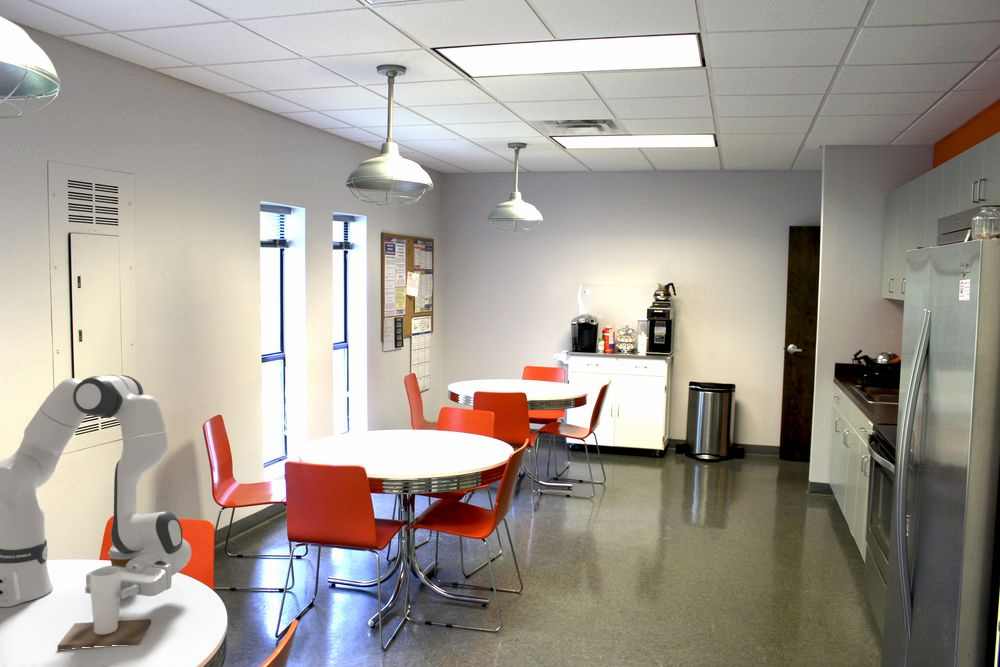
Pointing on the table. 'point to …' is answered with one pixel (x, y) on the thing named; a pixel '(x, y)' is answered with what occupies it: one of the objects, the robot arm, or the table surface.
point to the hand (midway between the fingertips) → (103, 592)
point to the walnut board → (124, 635)
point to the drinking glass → (105, 599)
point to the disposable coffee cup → (122, 557)
